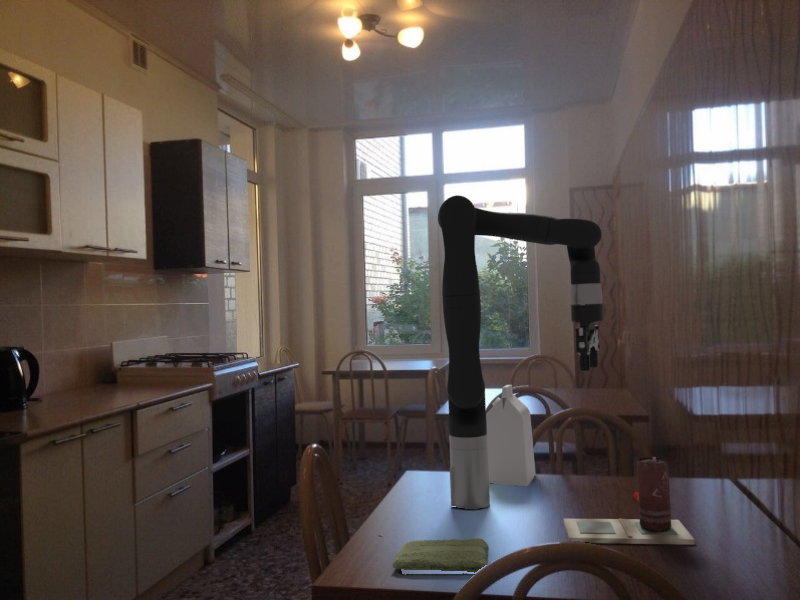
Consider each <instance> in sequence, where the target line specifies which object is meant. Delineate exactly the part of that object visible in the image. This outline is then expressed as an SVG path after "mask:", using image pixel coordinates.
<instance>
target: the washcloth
mask: <svg viewBox="0 0 800 600" xmlns="http://www.w3.org/2000/svg"><path fill="white" fill-rule="evenodd" d="M489 550H490V548H489V544H488V542H487V541H485V540H484V539H483V538H479V537H474V538H473V537H472V538H468V539H457V538H453V539H452V538H451V539H442V540H440V539H436V540H435V539H428V540H427V539H423V540H411V541H408V542H406V543H404V544H402V545H401V548H400V549H399V551H398V552H397V553H396V558H395V559H393V560H392V561H393V562H392V568H393V569H396V570H400V569H404V570H441V571H467V572H474V573H475V572H477V571H478V570H479V569H481V568H482V567H484V566H485V565H487V564H488V561H489V559H488V554H489ZM488 565H489V564H488Z"/></svg>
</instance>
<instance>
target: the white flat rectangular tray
mask: <svg viewBox="0 0 800 600" xmlns="http://www.w3.org/2000/svg"><path fill="white" fill-rule="evenodd" d="M563 525H564V529H565V531H566V536H567V538H568V539H567V540H568V542H569V541H580V542H589V543H588V544H631V545H633V544H634V545H635V544H636V545H638V544H639V545H643V544H644V545H696V540H695V538H694V536H692V534H691V533H690V532H689V531H688V529H687V528H686V527H685V526H684V525H683V523H682V522H681V521H680V519H671V528H670V529H669V530H668V531H665V532H652V531H648V530H645V529H643V528H642V527H641V526H640V519H638V518H636V519H635V518H633V519H632V518H631V519H630V518H629V519H628V518H616V519H615V518H563Z"/></svg>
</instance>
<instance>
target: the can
mask: <svg viewBox="0 0 800 600" xmlns="http://www.w3.org/2000/svg"><path fill="white" fill-rule="evenodd" d="M636 472H637V490H638V491H637V492H638V498H639V502H638V515H639V519H640V526H641V527H642V528H643V529H645V530H648V531H652V532H665V531H668V530H669V529H670V528H671V520H672V514H671V494H670V493H671V492H670V472H669V463H668V462H667V459H664V458H661V457H656V456H652V457H648V456H647V457H641V458H638V459H637V462H636Z"/></svg>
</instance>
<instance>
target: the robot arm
mask: <svg viewBox="0 0 800 600" xmlns="http://www.w3.org/2000/svg"><path fill="white" fill-rule="evenodd" d="M437 222H438V226H439V227H440V229H441V233H442V234H441V235H442V239H443V240H442V241H443V251H444V261H443V271H442V285H441V286H442V287H441V290H442V291H441V293H442V295H441V296H442V312H443V321H444V328H445V334H446V341H447V347H448V372H447V373H448V376H447V385H446V392H447V399H448V434H449V435H448V436H449V438H448V439H449V458H450V461H449V465H450V467H449V483H450V484H449V485H450V486H449V488H450V489H449V490H450V507H451V506H456V507H459V508H466V509H465V510H467V509H474V510H480V509H479V508H482V509H484V508H488V507H489V506H490V502H491V500H490V498H491V497H490V484H489V472H488V448H487V422H486V414H487V410H486V409H487V408H486V406H487V405H486V384H485V380H484V377H483V372H482V364H481V363H482V362H481V356H480V339H481V327H482V326H481V324H482V323H481V321H482V307H481V304H482V303H481V291H480V279H479V272H478V265H477V260H476V259H477V258H476V250H475V249H476V247H475V246H476V243H475V241H476V236H481V237H482V236H485V237H486V236H487V237H496V238H502V239H504V238H505V239H509V240H513V241H514V240H515V241H521V242H527V243H532V244H539V245H547V246H552V245H554V246H555V245H561V246H566V249H567V255H568V260H569V264H570V266H569V267H570V316H571V317H570V318H571V320H570V321H571V322H572V323H579V327H575V345H576V346H575V347H576V349H575V351H576V353H577V354H578V355H579V369H580V371H582V372H587V371H588V372H589V371H590V370H591V368H598V366H599V356H598V355H599V354H598V353H599V350H600V349H601V345H600V343H601V342H600V326H599V324H598V325H597V324H596V323H599V322H600V323H601V322H603V321H604V308H603V306H604V305H603V290H602V285H601V268H600V264H599V263H600V262H599V261H597V258H596V251H595V250H596V248H595V247H596V246H597V245H598V244H599V243H600V242H601V240H602V234H603V233H602V230H601V227H600V226H599V225H598V223H597V222H594V221H593V220H590V219H585V218H584V219H583V218H570V217H569V218H568V217H555V216H549V215H543V214H538V213H537V214H536V213H529V212H500V211H490V210H486V209H482V208H478V207H476V206H475V205H474V204H473V202H472V201H471V199H469V198H467V197H466V196H463V195H460V194H457V195H453V196H450V197H448V198H447V199H445V200H444V201H443V203H441V205H440V207H439V210H438V215H437ZM459 508H458V509H459Z"/></svg>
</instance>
